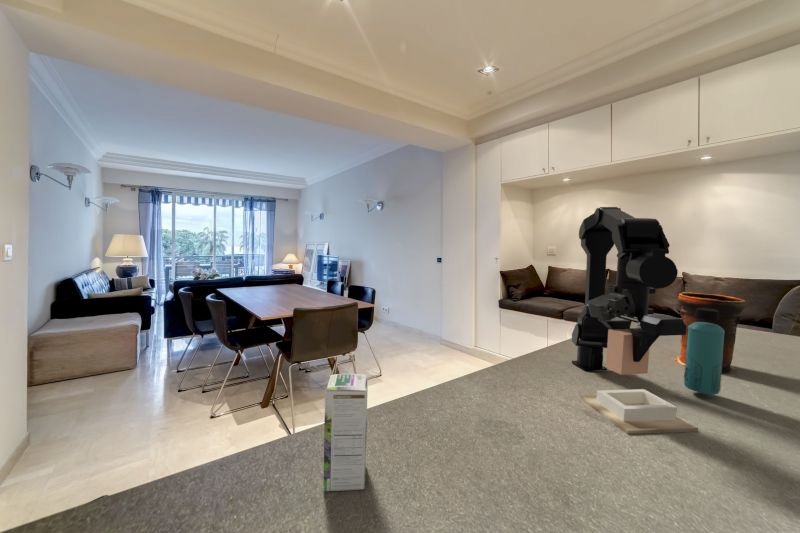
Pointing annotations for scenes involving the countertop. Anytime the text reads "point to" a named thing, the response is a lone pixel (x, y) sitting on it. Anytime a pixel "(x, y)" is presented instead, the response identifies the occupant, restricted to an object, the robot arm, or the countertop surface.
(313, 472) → the countertop surface
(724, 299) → the vessel
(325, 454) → the syrup box
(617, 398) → the socket collar
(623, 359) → the terracotta peg
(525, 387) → the countertop surface
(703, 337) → the beverage bottle
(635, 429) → the socket base
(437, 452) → the countertop surface
